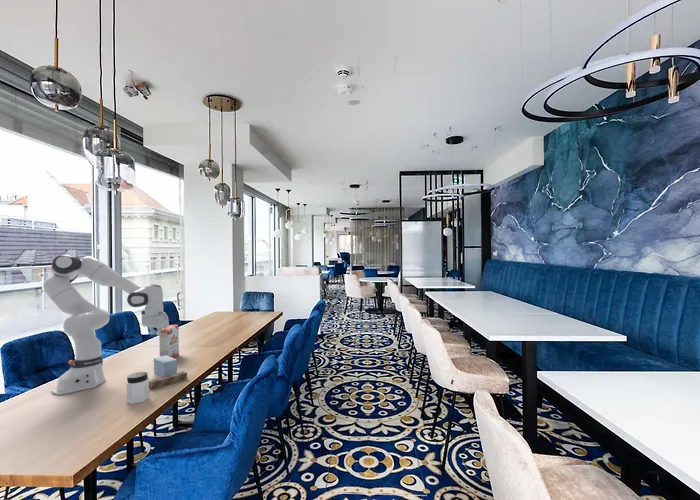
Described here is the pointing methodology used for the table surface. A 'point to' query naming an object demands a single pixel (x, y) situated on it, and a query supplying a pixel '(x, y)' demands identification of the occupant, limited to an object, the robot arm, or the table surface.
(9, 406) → the table surface
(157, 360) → the brick
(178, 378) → the board
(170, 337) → the cracker box
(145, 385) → the jar
